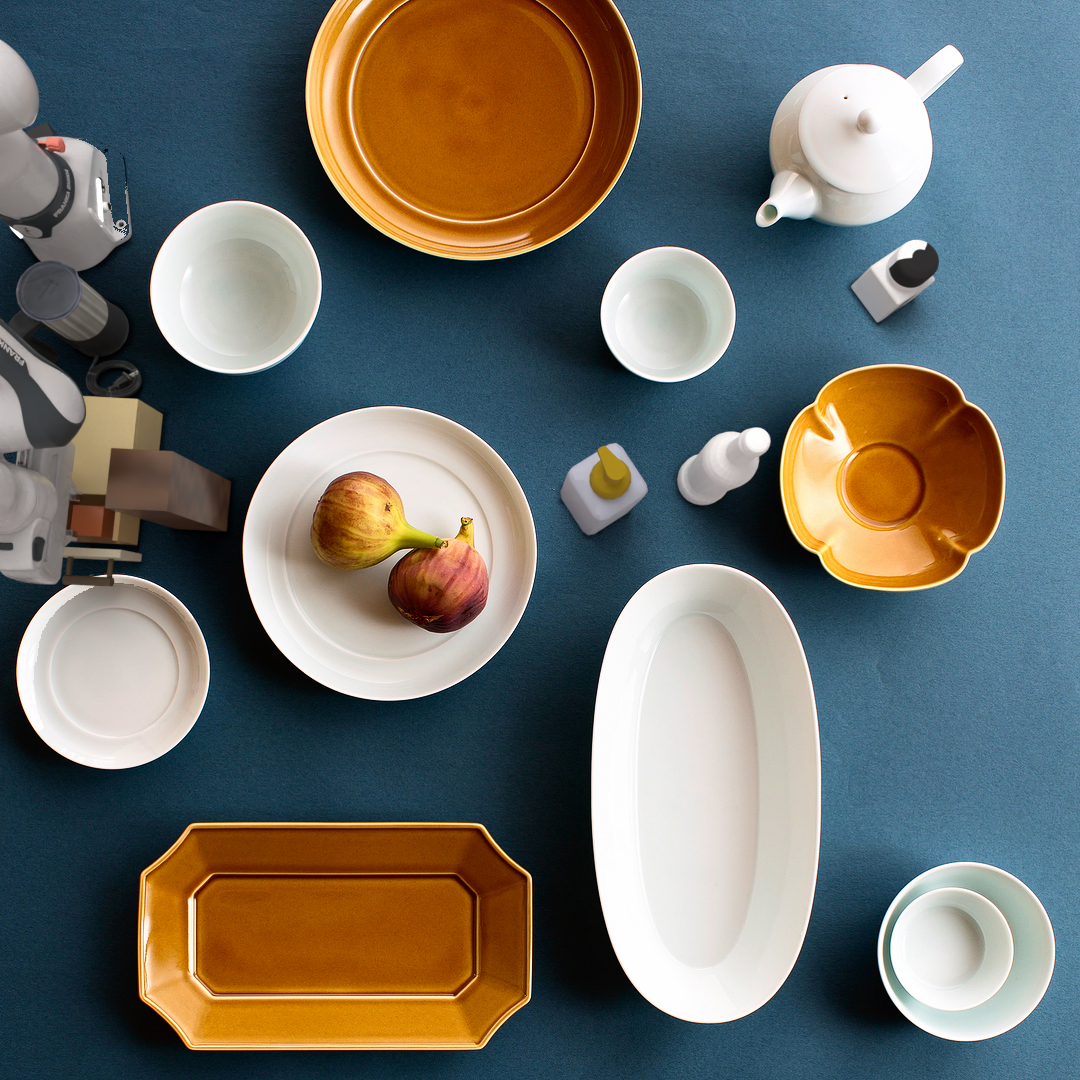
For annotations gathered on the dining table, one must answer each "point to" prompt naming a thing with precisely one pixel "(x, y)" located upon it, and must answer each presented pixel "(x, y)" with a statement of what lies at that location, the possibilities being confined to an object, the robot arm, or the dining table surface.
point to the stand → (167, 490)
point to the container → (897, 278)
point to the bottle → (722, 465)
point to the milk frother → (73, 322)
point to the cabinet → (111, 437)
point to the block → (93, 522)
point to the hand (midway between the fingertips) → (74, 516)
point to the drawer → (122, 534)
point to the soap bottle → (602, 488)
